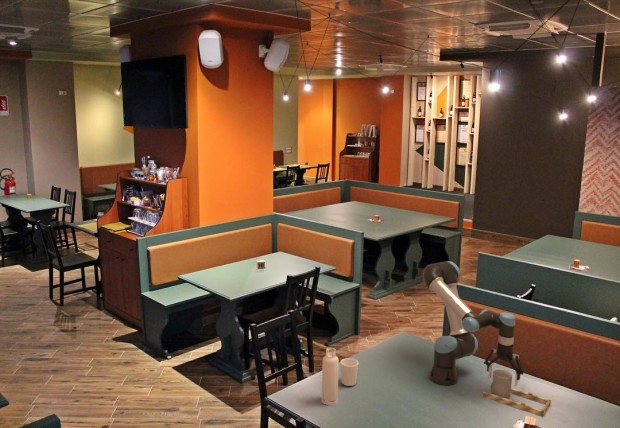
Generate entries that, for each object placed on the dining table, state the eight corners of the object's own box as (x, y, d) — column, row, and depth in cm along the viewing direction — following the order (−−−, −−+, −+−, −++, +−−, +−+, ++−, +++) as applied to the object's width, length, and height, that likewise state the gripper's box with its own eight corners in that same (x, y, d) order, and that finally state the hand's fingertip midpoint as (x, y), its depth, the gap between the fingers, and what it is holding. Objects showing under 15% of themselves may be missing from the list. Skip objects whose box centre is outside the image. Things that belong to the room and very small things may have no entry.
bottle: (339, 398, 279) (340, 347, 273) (334, 406, 271) (336, 354, 266) (324, 395, 281) (325, 345, 276) (319, 403, 274) (320, 351, 268)
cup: (337, 386, 291) (337, 364, 289) (342, 377, 300) (343, 356, 298) (354, 389, 287) (355, 367, 285) (360, 381, 296) (361, 360, 294)
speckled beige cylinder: (511, 401, 279) (513, 379, 277) (492, 399, 281) (494, 377, 278) (508, 392, 288) (510, 370, 286) (490, 390, 290) (491, 368, 288)
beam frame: (482, 396, 283) (483, 391, 283) (491, 386, 294) (492, 380, 294) (543, 416, 265) (543, 410, 265) (550, 404, 276) (551, 399, 276)
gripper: (479, 339, 283) (476, 377, 287) (528, 351, 269) (525, 391, 272) (484, 334, 289) (481, 371, 293) (532, 346, 274) (529, 385, 278)
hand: (502, 381), depth 283 cm, fingers open, 13 cm apart
